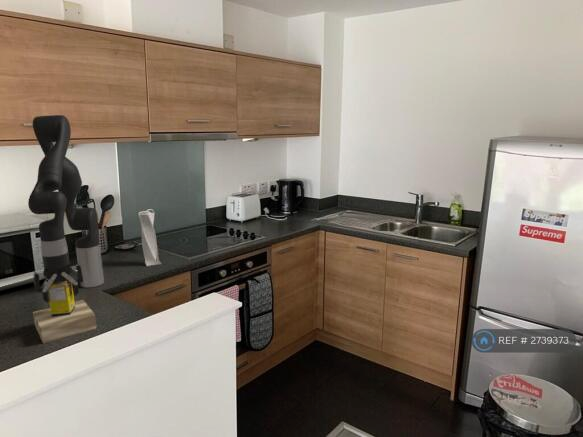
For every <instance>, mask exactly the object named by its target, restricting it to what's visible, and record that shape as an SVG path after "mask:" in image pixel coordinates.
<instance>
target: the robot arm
mask: <svg viewBox="0 0 583 437" xmlns="http://www.w3.org/2000/svg"><path fill="white" fill-rule="evenodd" d="M32 129H33V132H34V135H35V138H36V140H37V142H38V144H39V146H40V149H41V151H42V152H43V154H44V156H43V158H42V159H41V161H40V163H39V165H38V170H37V181H36V183H35V185H34V186H33V189H32V191H31V192H30V195H29V197H28V209H29V210H30V212H31V213H33V214H34V215H52V214H54V217H53V218H51V219H48V220H45V221H44V220H43V221H42V222H39V225H38V231H39V238H40V252H41V258H42V265H43V271H42V272H33V286H34V287H33V288H34V291H35V292H36V293H40V292H41V295H42V300H43V302H45V303H49V296H48V290H47V289H48V288H49V287H50V285H51V284H52V282H53V283H57V282H60V281H65V280H66V279H68V280H69V281H70V282H71V283H72V288H73V295H74V297H75V296H77V295H78V294H79V292H80V291H79V284H80V287H82V288H95V287H98V286H102V285H103V284H104V282H105V280H104V269H103V261H102V253H101V245H100V232H99V231H100V230H99V218H98V213H97V212H98V211H97V210H96V209H95V208H94V207H79V208H77V207H76V204H75V203H76V198H77V196H78V194H79V193H80V191H81V189H82V185H83V181H82V177H81V174H80V171H79V169H78V168H79V167H77V165H76V164H75V163H74V162H73V161H72V160H70V159H69V158H68V157H67V156H66V155H67V152H68V148H69V144H70V141H71V135H72V131H71V124H70V121H69V120H68V118H67V117H66V116H65V115H61V114H55V115H52V114H51V115H40V116H39V115H38V116H35V117H34V118H33V119H32ZM54 143H55V144H54ZM65 217H66V220H67V223H68V226H69V227H70V229H71V230H73V231H87V232H88V233H87V234H86V235H84V236H81V237H78V238H77V239H75V242H74V244H75V252H76V253H75V254H76V258H77V263H76V264H75V265H72V266H71V264H70V259H69V249H68V244H67V238H66V235H65V227H64V226H65V225H64V221H65V219H64V218H65ZM72 271H73V272H75V273H76V276H77V278H76V279H75V278H73V277H72V276H71V275H70V274H71V272H72ZM43 277H44V278H45V280H44V282H43V284H42V286H40V280H42V278H43Z"/></svg>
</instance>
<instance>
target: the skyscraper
mask: <svg viewBox="0 0 583 437" xmlns="http://www.w3.org/2000/svg"><path fill="white" fill-rule="evenodd" d="M151 211H152V212H151ZM155 215H156V214H155V210H153V209H152V208H150V209H146V210H143V211H139V212H138V217H139V222H140V226H141V246H142V251H143V257H144V260H145V261H144V265H145V266H146V267H151V266H157V265H162V262H161V261H160V257H159V256H160V255H159V249H158V248H159V246H158V245H157V244H158V243H157V234H156V231H155V228H154V224H155Z"/></svg>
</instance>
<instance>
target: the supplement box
mask: <svg viewBox="0 0 583 437" xmlns="http://www.w3.org/2000/svg"><path fill="white" fill-rule="evenodd" d="M72 284H73V283H71V282H70V281H69V280H68V279H66V280H65V281H60V282H57V283H53V282H52V284H51V285H50V287H49V288H48V289H47V292H48V298H49V302H48V303H49V308H50V309H51V315H52V316H58V315H70V314H71V313H72V311H73V310H74V308H75V302H76V301H75V296H74V294H73V287H72Z"/></svg>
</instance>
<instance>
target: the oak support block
mask: <svg viewBox="0 0 583 437" xmlns="http://www.w3.org/2000/svg"><path fill="white" fill-rule="evenodd" d="M74 302H75V308H74V310H73V311H72V313H71V314H70V315H58V316H52V315H51V309H50V307H48V308H44V309H40V310H36V311H32V316H33V321H34V326H35V328H36V332H37V333H38V335H39V338H40V339H41V340H40V341H41V342H42V344H46V343H50V342H53V341H57V340H60V339H63V338H66V337H70V336H74V335H79V334H81V333H85V332H88V331H91V330H96V329H98V328H97V327H98V326H97V320H96V319H97V318H96V314H95V312H94V311H93V310H92V309H91V308H90V306H89V305H88V304H87V303H86V301H85V300H84V299H81V300H76V301H74Z"/></svg>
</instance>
